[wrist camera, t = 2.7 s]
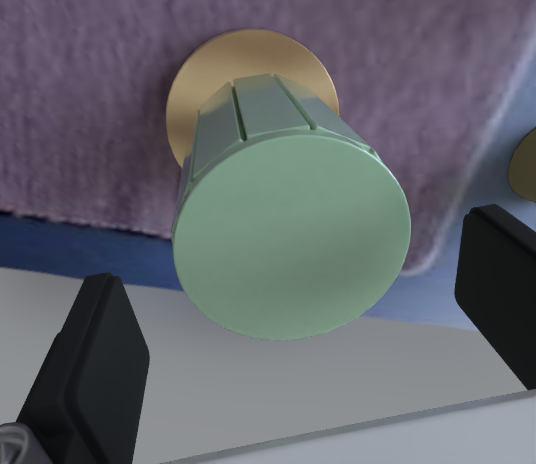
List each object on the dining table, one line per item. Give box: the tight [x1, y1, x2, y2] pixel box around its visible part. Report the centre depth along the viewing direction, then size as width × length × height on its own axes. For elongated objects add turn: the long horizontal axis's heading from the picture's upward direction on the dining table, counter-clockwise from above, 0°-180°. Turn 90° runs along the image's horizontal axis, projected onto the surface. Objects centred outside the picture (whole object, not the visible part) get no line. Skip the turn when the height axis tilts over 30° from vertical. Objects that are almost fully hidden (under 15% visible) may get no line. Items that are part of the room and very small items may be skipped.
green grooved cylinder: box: [171, 73, 411, 341], centre depth 16 cm, size 7×7×9 cm
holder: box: [165, 28, 339, 168], centre depth 18 cm, size 10×10×14 cm
